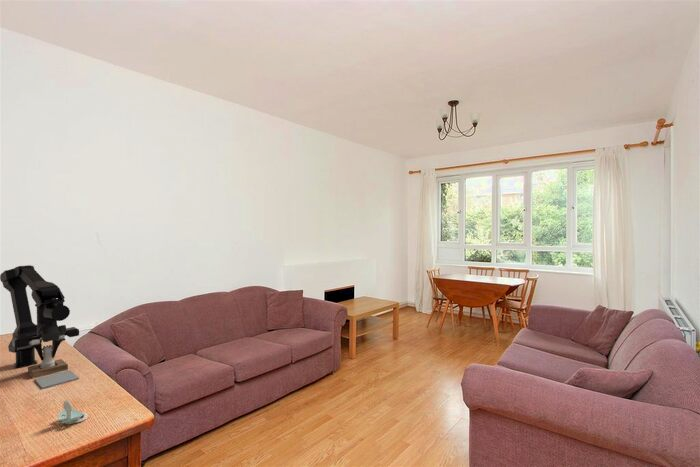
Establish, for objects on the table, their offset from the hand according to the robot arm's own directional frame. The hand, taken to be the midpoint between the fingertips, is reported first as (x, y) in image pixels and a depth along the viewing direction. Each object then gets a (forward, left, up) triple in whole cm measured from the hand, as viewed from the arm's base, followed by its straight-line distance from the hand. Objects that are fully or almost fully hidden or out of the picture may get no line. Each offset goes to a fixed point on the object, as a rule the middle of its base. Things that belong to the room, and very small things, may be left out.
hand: (47, 359), depth 132 cm
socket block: (0, 0, -4) cm, 4 cm away
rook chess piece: (0, 0, -3) cm, 3 cm away
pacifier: (+54, -4, -5) cm, 54 cm away
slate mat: (+14, 0, -4) cm, 15 cm away
